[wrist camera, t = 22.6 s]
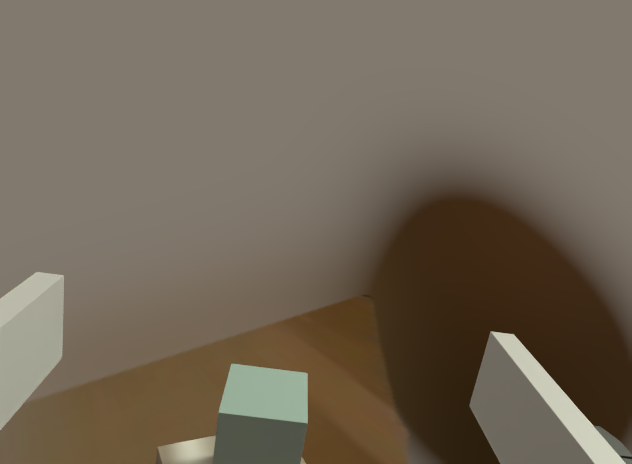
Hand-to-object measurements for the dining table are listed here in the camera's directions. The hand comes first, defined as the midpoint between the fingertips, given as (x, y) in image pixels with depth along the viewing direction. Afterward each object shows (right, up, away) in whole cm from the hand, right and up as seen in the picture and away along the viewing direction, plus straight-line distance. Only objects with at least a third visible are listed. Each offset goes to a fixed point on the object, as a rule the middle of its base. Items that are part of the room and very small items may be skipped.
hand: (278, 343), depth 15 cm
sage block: (-5, -20, +30) cm, 36 cm away
